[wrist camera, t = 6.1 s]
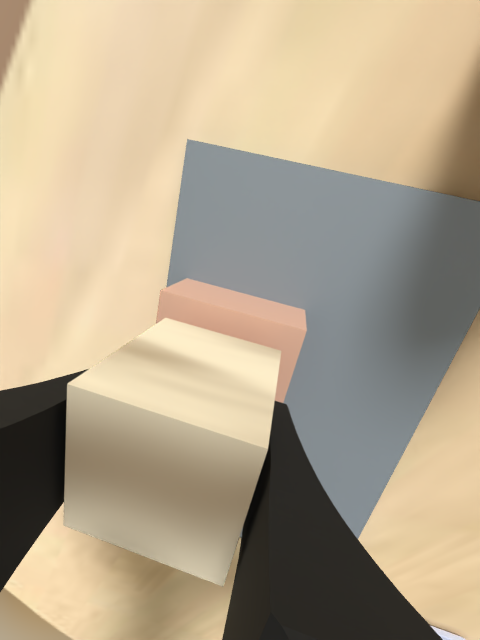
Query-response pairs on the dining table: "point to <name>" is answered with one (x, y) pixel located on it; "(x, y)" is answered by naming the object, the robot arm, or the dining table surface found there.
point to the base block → (239, 320)
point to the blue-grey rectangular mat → (339, 296)
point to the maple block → (170, 445)
